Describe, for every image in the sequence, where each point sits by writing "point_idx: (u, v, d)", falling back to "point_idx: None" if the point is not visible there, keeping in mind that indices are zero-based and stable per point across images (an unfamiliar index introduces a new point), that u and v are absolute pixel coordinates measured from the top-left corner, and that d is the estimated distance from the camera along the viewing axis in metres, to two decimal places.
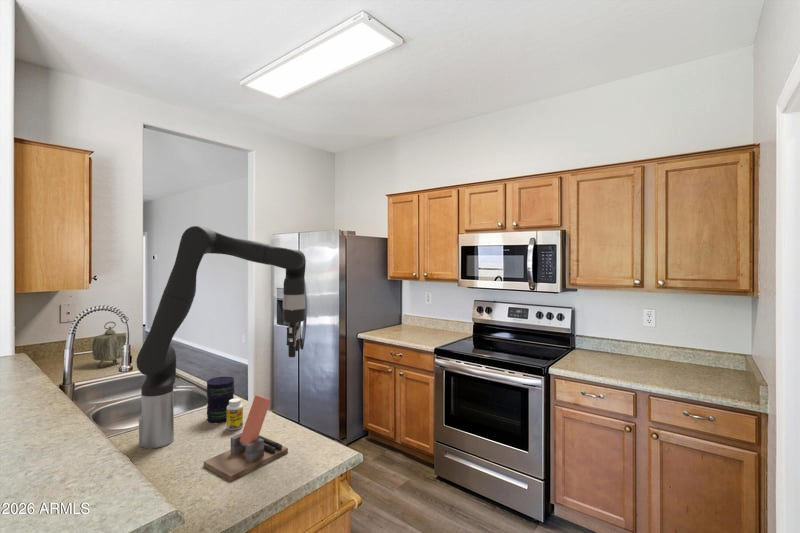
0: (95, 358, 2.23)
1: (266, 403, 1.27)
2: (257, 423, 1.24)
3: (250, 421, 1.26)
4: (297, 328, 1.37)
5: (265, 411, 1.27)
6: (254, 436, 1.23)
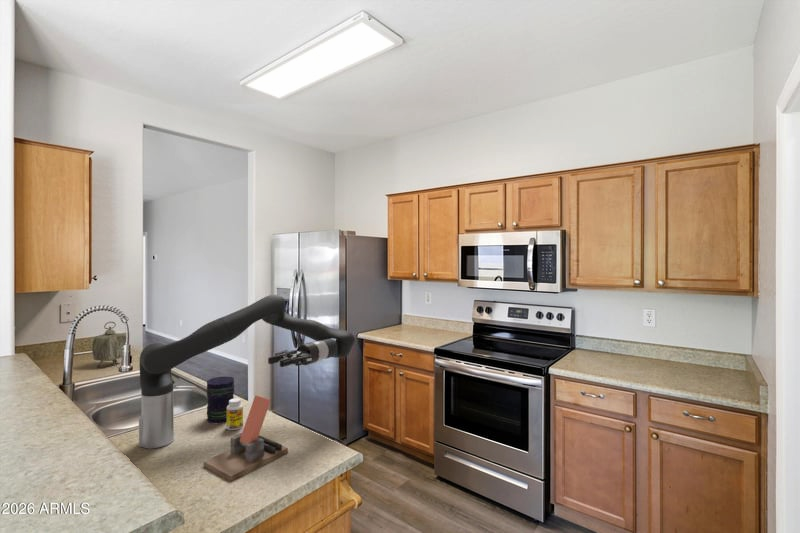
0: (95, 358, 2.23)
1: (266, 403, 1.27)
2: (257, 423, 1.24)
3: (250, 421, 1.26)
4: None
5: (265, 411, 1.27)
6: (254, 436, 1.23)
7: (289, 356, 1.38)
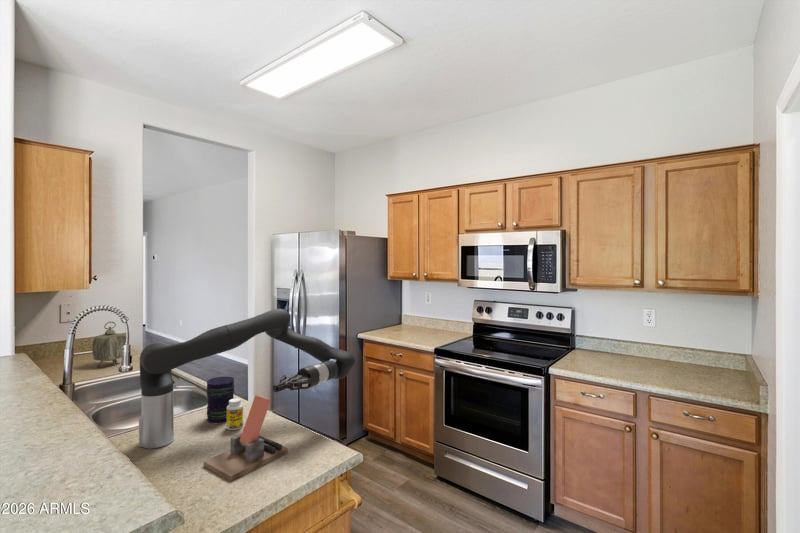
0: (95, 358, 2.23)
1: (266, 403, 1.27)
2: (257, 423, 1.24)
3: (250, 421, 1.26)
4: None
5: (265, 411, 1.27)
6: (254, 436, 1.23)
7: None
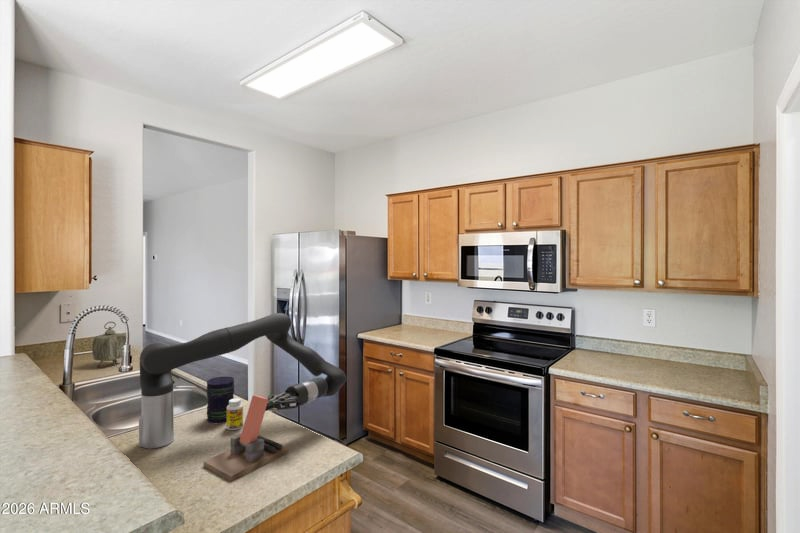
0: (95, 358, 2.23)
1: (264, 403, 1.26)
2: (256, 423, 1.24)
3: (249, 421, 1.25)
4: None
5: (263, 411, 1.26)
6: (253, 436, 1.23)
7: None
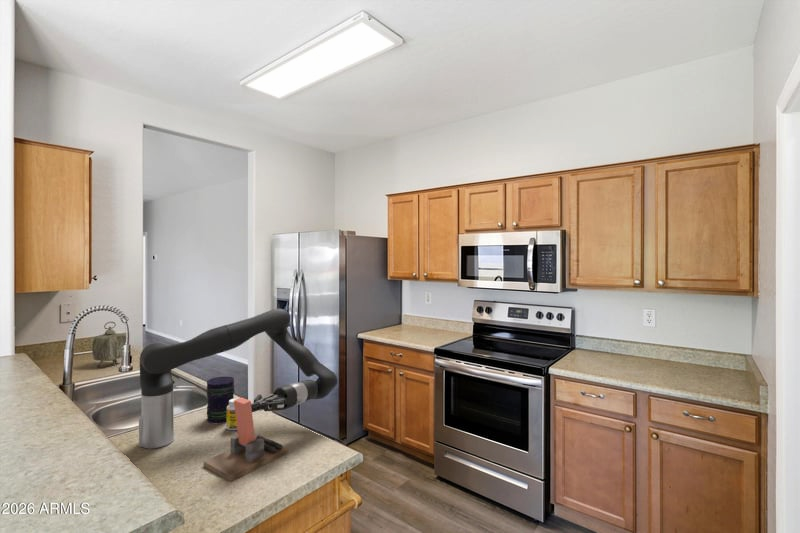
0: (95, 358, 2.23)
1: (247, 406, 1.21)
2: (247, 427, 1.21)
3: (240, 425, 1.23)
4: None
5: (250, 413, 1.22)
6: (250, 438, 1.22)
7: (268, 401, 1.30)
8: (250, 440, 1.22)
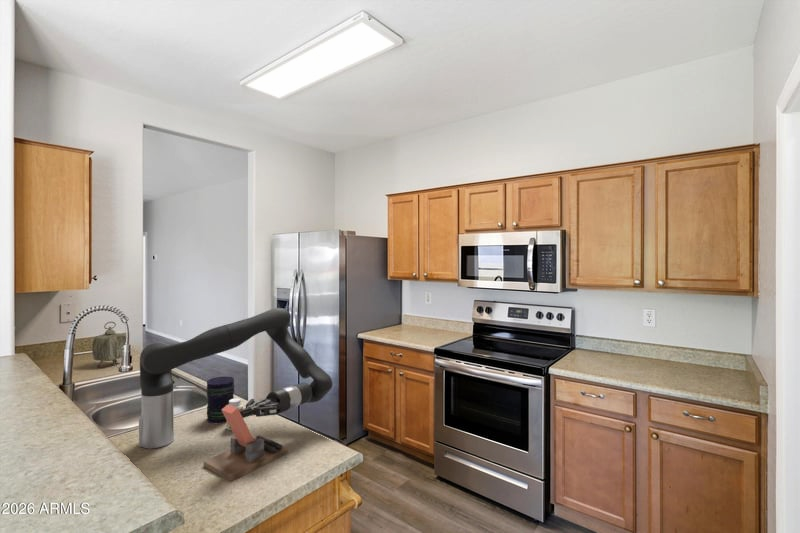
0: (95, 358, 2.23)
1: (236, 414, 1.18)
2: (241, 432, 1.20)
3: (235, 430, 1.21)
4: None
5: (241, 418, 1.19)
6: (248, 440, 1.22)
7: (261, 406, 1.28)
8: (248, 442, 1.22)
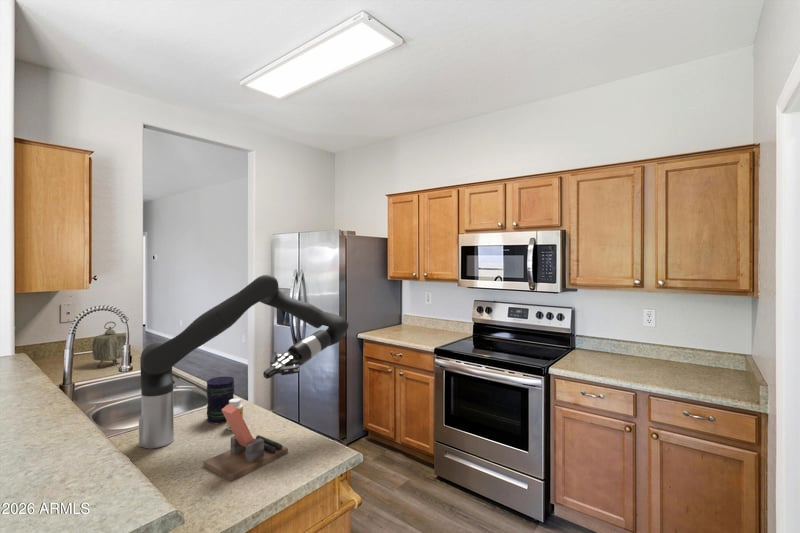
0: (95, 358, 2.23)
1: (236, 414, 1.18)
2: (241, 432, 1.20)
3: (235, 430, 1.21)
4: None
5: (241, 418, 1.19)
6: (248, 440, 1.22)
7: None
8: (248, 442, 1.22)
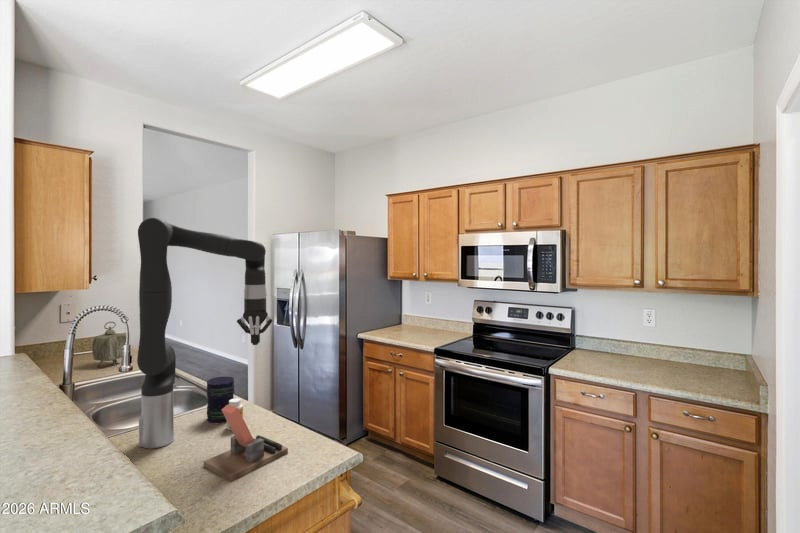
0: (95, 358, 2.23)
1: (236, 414, 1.18)
2: (241, 432, 1.20)
3: (235, 430, 1.21)
4: None
5: (241, 418, 1.19)
6: (248, 440, 1.22)
7: None
8: (248, 442, 1.22)
